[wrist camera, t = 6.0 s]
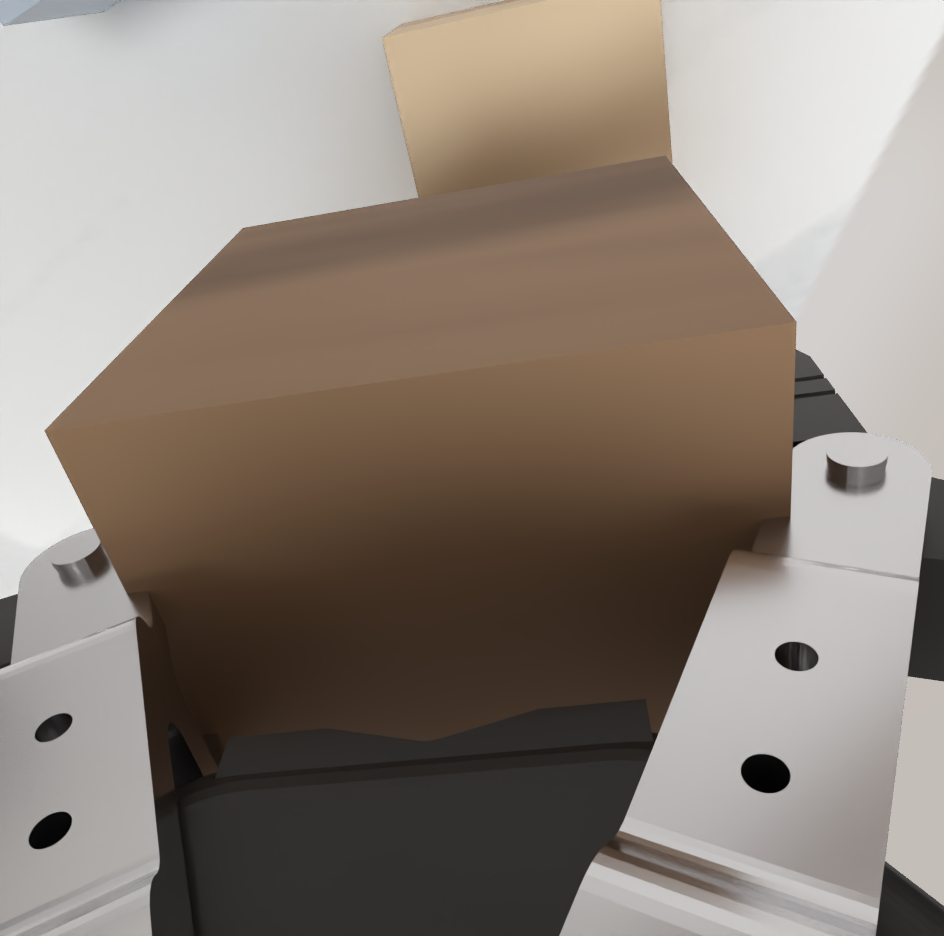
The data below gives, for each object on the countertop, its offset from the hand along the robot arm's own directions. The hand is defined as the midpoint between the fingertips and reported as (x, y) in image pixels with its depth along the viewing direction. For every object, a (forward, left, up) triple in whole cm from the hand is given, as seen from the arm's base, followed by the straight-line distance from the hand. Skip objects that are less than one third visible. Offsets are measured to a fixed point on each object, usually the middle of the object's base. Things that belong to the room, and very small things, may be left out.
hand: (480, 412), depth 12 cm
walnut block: (0, 0, -1) cm, 1 cm away
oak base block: (-1, +1, -18) cm, 18 cm away
